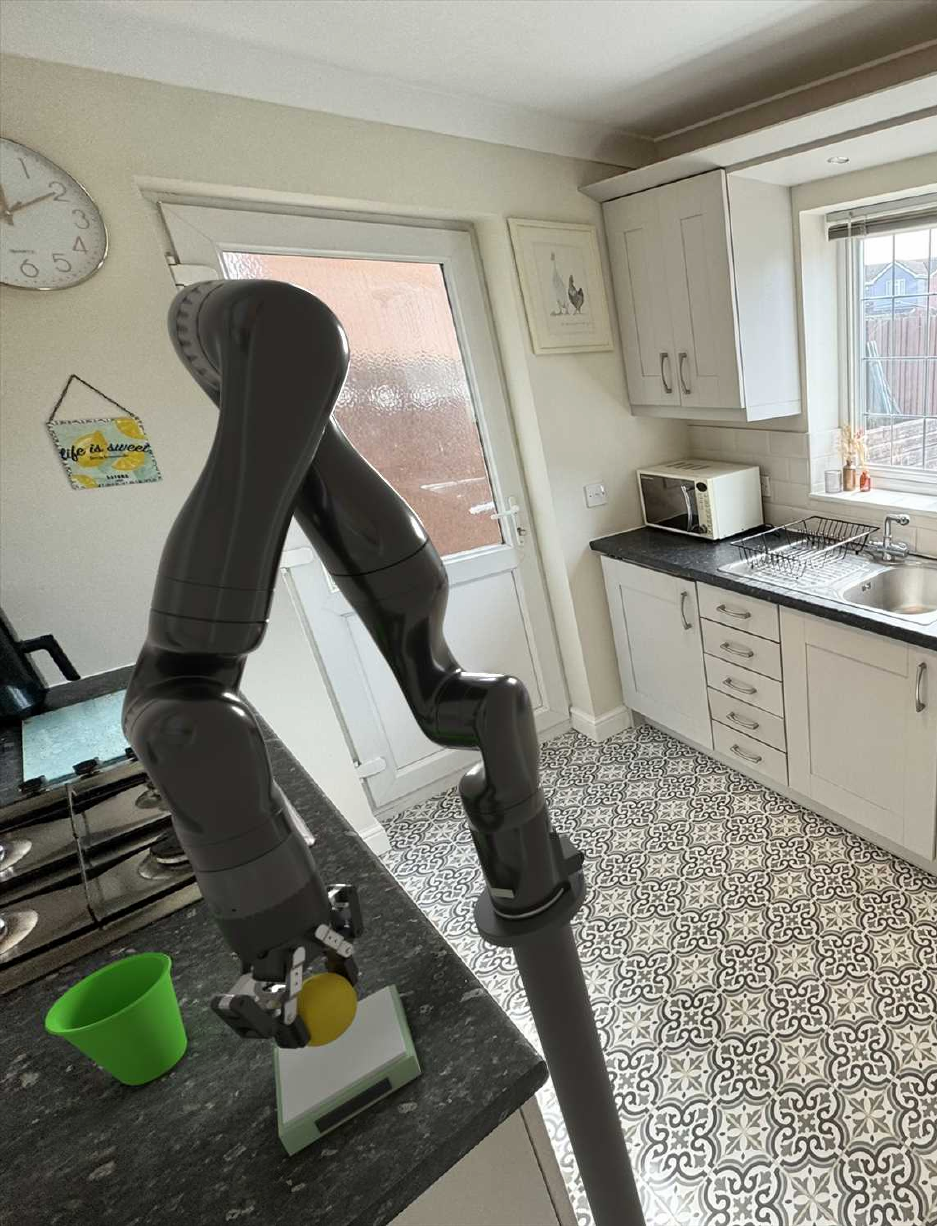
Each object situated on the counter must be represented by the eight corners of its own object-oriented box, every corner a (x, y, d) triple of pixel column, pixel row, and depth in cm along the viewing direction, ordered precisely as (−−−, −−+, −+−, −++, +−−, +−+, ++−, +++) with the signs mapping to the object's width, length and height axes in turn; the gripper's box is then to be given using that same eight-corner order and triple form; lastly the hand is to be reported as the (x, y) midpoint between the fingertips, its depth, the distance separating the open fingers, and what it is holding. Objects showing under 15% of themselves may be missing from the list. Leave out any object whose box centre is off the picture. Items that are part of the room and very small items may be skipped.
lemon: (318, 1075, 61) (289, 1017, 58) (291, 1048, 64) (262, 991, 61) (378, 1025, 66) (354, 970, 63) (350, 1002, 68) (326, 948, 65)
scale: (401, 1001, 74) (392, 979, 73) (422, 1075, 66) (412, 1052, 65) (283, 1067, 68) (271, 1044, 66) (290, 1158, 60) (276, 1135, 58)
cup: (213, 1060, 69) (171, 988, 65) (92, 1127, 63) (37, 1053, 59) (209, 1005, 75) (170, 936, 71) (98, 1062, 69) (49, 991, 65)
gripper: (228, 952, 50) (300, 1091, 57) (360, 828, 64) (407, 952, 70) (142, 950, 51) (222, 1087, 57) (291, 828, 64) (343, 950, 70)
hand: (324, 1012), depth 64 cm, fingers closed on lemon, 5 cm apart
